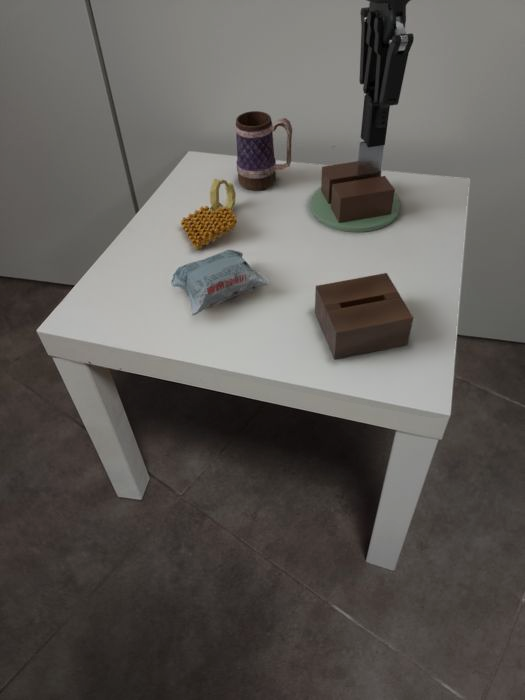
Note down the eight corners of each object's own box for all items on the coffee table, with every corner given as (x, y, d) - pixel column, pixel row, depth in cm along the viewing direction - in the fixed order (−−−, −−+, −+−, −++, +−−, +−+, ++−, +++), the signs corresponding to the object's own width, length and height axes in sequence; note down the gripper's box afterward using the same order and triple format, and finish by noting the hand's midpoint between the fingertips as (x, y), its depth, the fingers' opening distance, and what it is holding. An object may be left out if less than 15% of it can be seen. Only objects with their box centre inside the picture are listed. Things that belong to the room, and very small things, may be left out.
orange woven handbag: (215, 232, 81) (250, 164, 87) (159, 231, 86) (196, 166, 92) (231, 263, 86) (263, 196, 93) (178, 260, 91) (212, 197, 97)
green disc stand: (413, 223, 89) (419, 194, 85) (325, 238, 87) (326, 209, 83) (380, 177, 99) (383, 149, 95) (300, 190, 97) (300, 162, 93)
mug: (232, 188, 98) (226, 123, 90) (245, 168, 103) (241, 105, 94) (286, 196, 96) (285, 130, 87) (297, 176, 100) (297, 111, 92)
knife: (382, 176, 89) (392, 96, 79) (358, 180, 88) (366, 99, 79) (377, 170, 90) (387, 90, 81) (354, 174, 90) (362, 94, 80)
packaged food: (269, 295, 79) (267, 268, 75) (194, 325, 75) (189, 298, 71) (242, 263, 84) (239, 237, 80) (171, 290, 80) (165, 263, 77)
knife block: (407, 345, 71) (413, 317, 67) (334, 359, 70) (336, 332, 66) (382, 300, 77) (386, 272, 73) (314, 312, 76) (315, 285, 72)
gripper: (344, -51, 72) (334, 123, 89) (386, -21, 62) (366, 168, 79) (398, -57, 73) (378, 117, 90) (448, -28, 63) (414, 160, 80)
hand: (372, 140), depth 85 cm, fingers closed on knife, 2 cm apart
